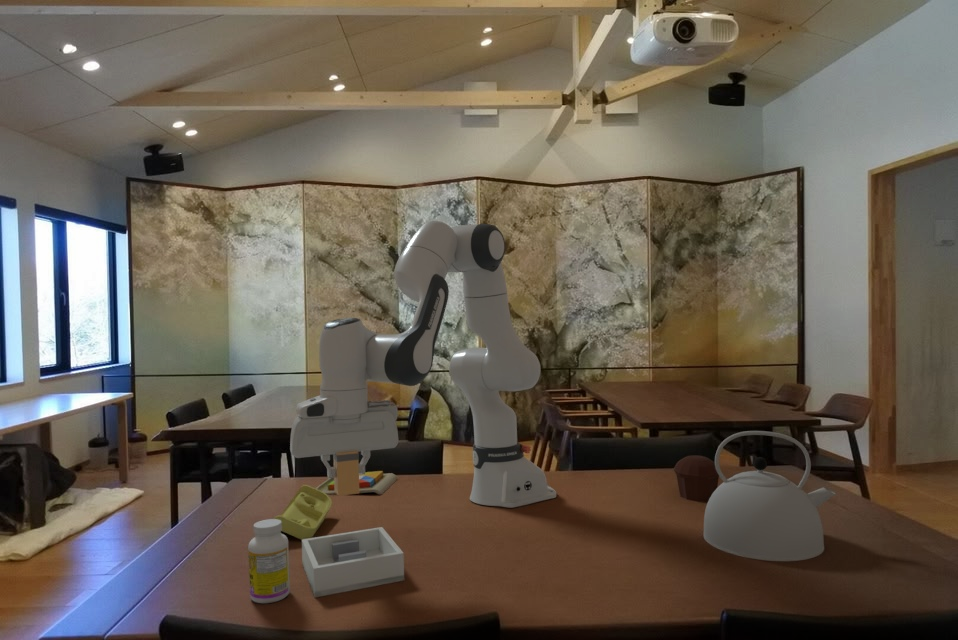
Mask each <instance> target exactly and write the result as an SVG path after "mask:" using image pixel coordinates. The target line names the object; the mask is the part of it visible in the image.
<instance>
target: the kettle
mask: <svg viewBox="0 0 958 640" xmlns="http://www.w3.org/2000/svg"><path fill="white" fill-rule="evenodd" d="M744 436H769V437H776V438H781V439H784V440H787V441H789V442H791V443H793V444H795V446H798V448H799V449H800V450H801V451H802V453H803V455H804V457H805V465H806V466H805V471H804V474H803V475H802V478H801V480H800V482H799V484H798V485H796V484H795V483H794V482H792V481H791V480H789V479H788V478H786V477H785V476H783V475H780V474H777V473H773V472H769V471H765V469H766V468H767V466H768V462H767V460H766V458H764V457H763V456H757V457H756V458H755V457H754V459H753V460H752V461H753V463H752V465H753V467H754V468H755V469H756V470H751V471H743V472H739V473H737V474H734V475H733V476H731V477H729V478H726V476H725V475H724V473H723V472H722V470H721V467H720V454H721V451H722V450H723V448H724V447H725V445H727V444H728V443H729V442H731V441H732V440H735V439H736V438H739V437H744ZM714 462H715V467H716V470H717V473H718V474H719V479H721V481H722V483H720V485H718V487H717V489H716V490H715V491H714V492H713V494H712V495H711V497H710V499H709V501H707V503H706V506H705V511H704V517H703V533H702V535H703V538H704V541H705V542H707V543H708V544H709V545H710V546H712V547H714V548H715V549H716V550H717V549H718V550H720V551H722V552H725V553H728V554H731V555H734V556H738V557H741V558H742V557H743V558H747V559H754V560H760V561H767V562H768V561H769V562H796V561H798V562H799V561H804V560H809V559H812V558H815V557H818V556H820V555H821V554H822V553H824V551H825V545H824V544H825V542H824V540H825V539H824V529H823V524H822V521H821V520H822V519H821V516H820V513H819V511H818V507H820V506H821V505H822V504H824V503H825V502H827V501H828V500H829V499H831V498H833V496H835V495H836V492H834V491H832V490H831V489H829V488H827V487H821V488H819V489H816V490H814V491H810V492H808V493H806V492H805V491H804V490H803V487H804V485H805V484H806V482H807V481H808V478H809V475H810V472H811V470H812V469H811V467H812V464H811V458H810V454H809V451H808V450H807V448H806V447H805V446H804V444H802V443H801V442H800V441H798V440H797V439H796V438H793V437H792V436H789V435H786V434H783V433H779V432H774V431H765V430H747V431H746V430H745V431H740V432H737V433H734V434H732V435H730V436H727V437H726V438H725V439H724V440H723V441H721V443H720V444H719V445H718V447H717V450H716V453H715V456H714Z"/></svg>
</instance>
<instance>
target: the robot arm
mask: <svg viewBox="0 0 958 640" xmlns="http://www.w3.org/2000/svg"><path fill="white" fill-rule="evenodd" d="M505 253H506V242H505V238H504V234H503V233H502V231H501V230H500V229H499V228H498V227H497V226H496V225H493V224H489V223H479V224H462V225H455V226H453V227H452V226H450V225H449V224H447V223H445V222H443V221H440V220H429V221H427V222H425V223H424V224H422V225H421V226H420V227H419V229H418V230H416V232H415V233H414V234H413V236H412V237H411V238H410V239H409V241H408V243H407V244H406V245H405V246H404V248H403V250H402V252H401V254H400V256H399V258H398V259H397V262H396V263H395V266H394V271H393V274H394V281H395V284H396V285H397V287H398V289H399V290H400V291H401V292H402V293H403V294H404V295H405V296H406V297H407V298H409V299H411V300H412V301H414V302H417V303H418V304H417V307H416V308H415V309H416V310H415V313H414V315H413V318H412V319H413V320H412V321H411V323H410V326H409V328H408V329H407V330H405V331H403V332H400V333H395V334H393V333H391V334H388V333H386V334H384V333H377V332H375V331H372V330H371V329H369V328H368V327H367V326H365V325H364V324H363V320H361V319H360V318H357V317H346V318H345V317H343V318H337V319H333V320H330V321H328V322H327V323H324V325H323V326H322V329H321V332H320V336H319V344H318V345H319V347H318V350H319V351H318V355H319V356H318V361H319V362H318V363H319V364H318V365H319V369H320V372H321V382H320V386H319V394H320V395H317V396H314V397H311V398H309V399H306V400H303V401H301V402H298V403H297V404H296V407H295V411H296V414H297V417H295V418H294V420H293V422H292V424H291V431H290V439H289V440H290V441H289V443H290V444H289V445H290V446H289V450H290V453H291V455H292V456H294V457H295V458H296V459H301V458H310V457H320V460H321V462H322V463H323V464H324V466H325V467H326V473H327V474H326V476H327V478H328V479H329V478H336V477H337V474H336V468H335V467H334V466H331V465H330V463H329V461H330V460H331V455H333V454H337V453H342V452H351V451H358V453H359V452H360V455H362V458H361V460H360V462H359V475H362V474H365V472H366V466H367V463H368V461H369V459H370V458H371V451H376V450H386V449H388V450H389V449H395V448H396V447H397V445H398V444H399V431H398V426H397V420H398V415H399V414H398V413H399V412H398V405H396V403H394V402H392V401H391V400H389V399H386V400H385V399H384V400H380V401H378V400H374V401H369V400H368V383H367V382H374V383H375V382H376V383H386V384H387V383H389V384H397V385H401V386H409V387H413V386H414V387H415V386H417V385H419V384H420V383H422V382H423V381H424V380H425V379H426V378H427V376H428V375H429V374H430V372H431V369H432V367H433V363H434V355H435V346H436V342H437V339H438V336H439V332H440V329H441V326H442V321H443V319H444V315H445V311H446V309H447V305H448V300H449V295H450V294H449V292H450V291H449V284H448V282H447V280H446V277H447V275H448V273H462V287H463V288H462V289H463V291H462V292H463V298H464V307H465V308H464V309H465V316H466V324H467V327H468V328H469V330H470V331H471V332H472V333H473V334H475V335H477V336H478V337H479V338H481V340H482V341H483V344H484V345H485V347H469V348H465V349H461V350H457V351H456V352H455V353H454V354H453V355H452V357H451V359H450V361H449V365H448V366H449V367H448V372H449V376H450V378H451V380H452V382H453V383H454V384H455V385H456V386H457V387H458V388H459V389H460V390H461V392H462V393H463V394H464V396H465V397H466V400H467V402H468V404H469V407H470V410H471V415H472V422H473V435H474V436H473V437H474V438H473V441H474V443H473V445H472V462H473V469H474V470H473V479H472V487H471V492H470V494H469V495H470V496H469V500H470V501H471V502H473V503H475V504H477V505H483V506H489V507H490V506H491V507H503V508H509V509H510V508H512V509H513V508H517V507H522V506H527V505H530V504H535V503H539V502H543V501H546V500H551V499H555V498H557V491H556V490H555V489H554V488H553V487H551V486H550V485H548V481H547V477H546V474H545V472H544V471H543V469H542V468H541V467H539V466H537V465H536V464H535V463H533V462H532V461H531V460H529V459H528V458H527V457H525V455H524V453H525V454H530V452H531V451H532V447H531V446H530V445H528V444H522V443H519V442H518V431H517V429H518V425H517V415H516V412H515V411H514V409H513V408H512V407H511V406H509V405H508V404H506V403H505V402H504V400H503V399H502V397H501V395H500V392H502V391H503V392H519V391H525V390H529V389H533V388H534V387H535V386H536V384H538V382H539V379H540V376H541V364H540V360H539V359H538V356H537V355H536V353H534V352H533V351H532V350H530V349H529V348H528V347H527V346H526V345H525V344H524V343H523V341H522V340H521V339H520V338H519V336H518V334H517V333H516V329H515V328H514V325H513V323H512V318H511V313H510V312H511V311H510V305H509V298H508V297H509V296H508V288H507V281H506V277H505V273H504V269H503V265H502V261H503V260H504V256H505Z"/></svg>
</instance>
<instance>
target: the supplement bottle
mask: <svg viewBox="0 0 958 640" xmlns="http://www.w3.org/2000/svg"><path fill="white" fill-rule="evenodd" d="M281 530H282V522H281V520H278V519H274V518H268V519H263V520H259V521H256V522H255V523H254V524H253V533H254V537H252V538H251V540H250V541H249V543H248V547H247V548H248V550H247V551H248V574H249V575H248V576H249V577H248V578H249V579H248V580H249V594H250V595H249V597H250V600H252V602H254V603H256V604H271V603H277V602H279V601H281V600H283V599H285V598H286V597H287V596H289V594H290V591H291V584H290V583H291V581H290V580H291V579H290V555H289V554H290V552H289V539H288V537H287V535H285V534H284V533H282V531H281Z"/></svg>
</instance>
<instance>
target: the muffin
mask: <svg viewBox="0 0 958 640" xmlns="http://www.w3.org/2000/svg"><path fill="white" fill-rule="evenodd" d="M673 471H674V473H675V474H676V475H675V476H676V480H677V481H676V482H677V487H678V492H679V496H680V497H681V498H683V499H685V500H689V501H695V502H708V501H709V499H710V497H711V495H712V494H713V492H714V491H715V490H716V489H717V488H718V487H719V479H720V476H719V474H718V473H717V470H716V467H715V461H713V459H710V458H709V457H706V456H703V455H695V454H694V455H693V454H692V455H687V456H685V457H683V458H681V459H680V460H678V461H677V462H676V463H675V465H674V467H673Z"/></svg>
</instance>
